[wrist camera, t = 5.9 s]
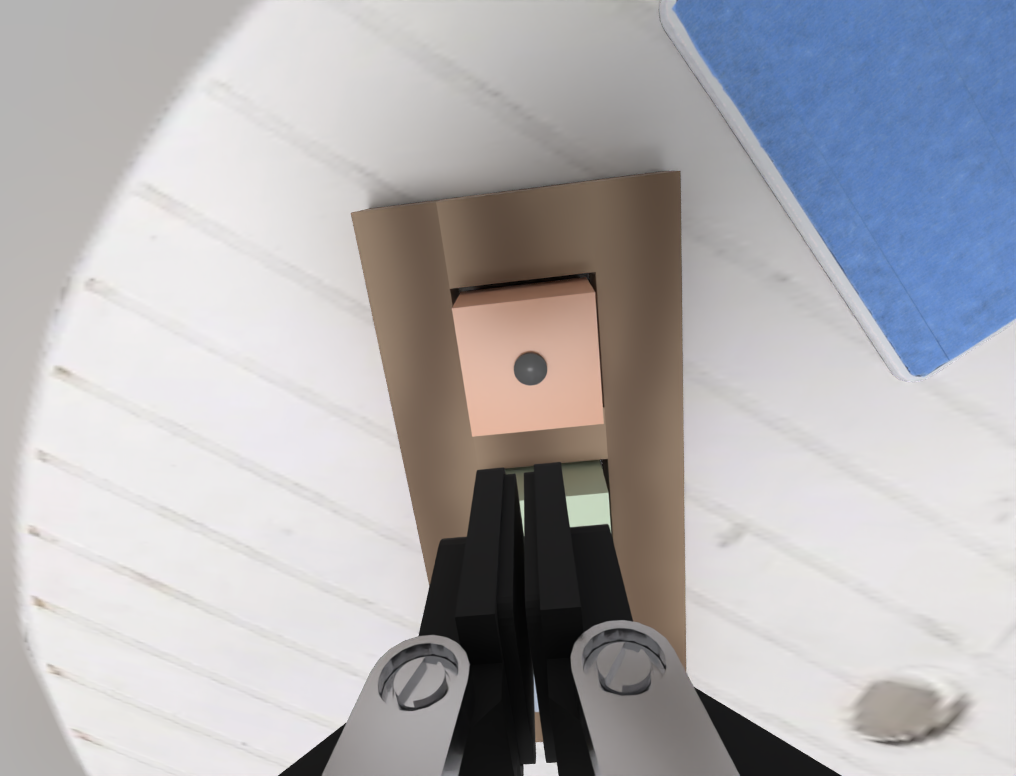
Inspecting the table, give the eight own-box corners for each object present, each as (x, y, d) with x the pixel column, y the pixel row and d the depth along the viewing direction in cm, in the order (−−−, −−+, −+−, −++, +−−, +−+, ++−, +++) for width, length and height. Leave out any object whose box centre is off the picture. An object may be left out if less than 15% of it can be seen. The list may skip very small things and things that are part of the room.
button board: (663, 171, 22) (680, 170, 20) (675, 692, 32) (686, 733, 30) (368, 208, 23) (350, 212, 21) (467, 705, 33) (463, 746, 31)
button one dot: (585, 277, 22) (595, 293, 19) (594, 394, 24) (604, 426, 21) (460, 291, 22) (451, 309, 19) (478, 406, 24) (471, 438, 21)
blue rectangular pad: (644, 9, 21) (652, -1, 20) (973, -299, 18) (1007, -335, 16) (891, 384, 26) (910, 395, 24) (1184, 196, 23) (1222, 197, 21)
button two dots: (598, 456, 25) (609, 495, 22) (605, 549, 27) (616, 597, 24) (487, 467, 25) (482, 506, 22) (501, 558, 27) (498, 606, 24)
